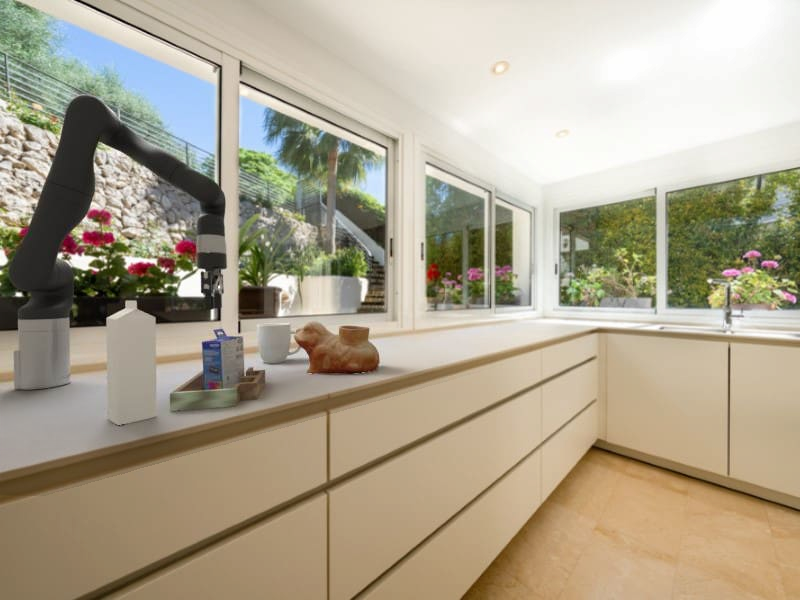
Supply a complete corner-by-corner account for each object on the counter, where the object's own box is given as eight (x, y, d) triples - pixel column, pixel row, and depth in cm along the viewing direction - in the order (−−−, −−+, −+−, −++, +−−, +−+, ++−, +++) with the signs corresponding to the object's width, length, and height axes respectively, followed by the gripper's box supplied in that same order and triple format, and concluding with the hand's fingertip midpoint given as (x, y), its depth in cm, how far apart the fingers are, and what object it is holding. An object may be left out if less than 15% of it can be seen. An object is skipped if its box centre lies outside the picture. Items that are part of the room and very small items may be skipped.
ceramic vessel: (302, 365, 115) (302, 319, 115) (381, 365, 114) (381, 319, 113) (287, 374, 101) (286, 323, 101) (377, 375, 100) (377, 322, 100)
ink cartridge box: (226, 381, 93) (225, 327, 93) (245, 381, 93) (245, 327, 92) (201, 391, 83) (200, 331, 83) (223, 392, 83) (222, 331, 82)
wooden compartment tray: (170, 411, 69) (169, 393, 69) (204, 383, 91) (204, 369, 91) (254, 404, 73) (254, 387, 73) (267, 379, 95) (267, 366, 95)
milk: (145, 411, 69) (144, 300, 69) (157, 417, 66) (156, 300, 66) (106, 419, 65) (105, 300, 64) (117, 426, 61) (116, 300, 61)
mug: (301, 357, 129) (300, 322, 129) (303, 362, 119) (303, 324, 118) (257, 360, 124) (257, 323, 124) (256, 366, 113) (256, 325, 113)
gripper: (204, 255, 106) (206, 308, 106) (188, 249, 92) (190, 310, 92) (231, 255, 108) (233, 307, 108) (220, 249, 94) (222, 309, 94)
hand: (213, 309), depth 100 cm, fingers open, 8 cm apart
